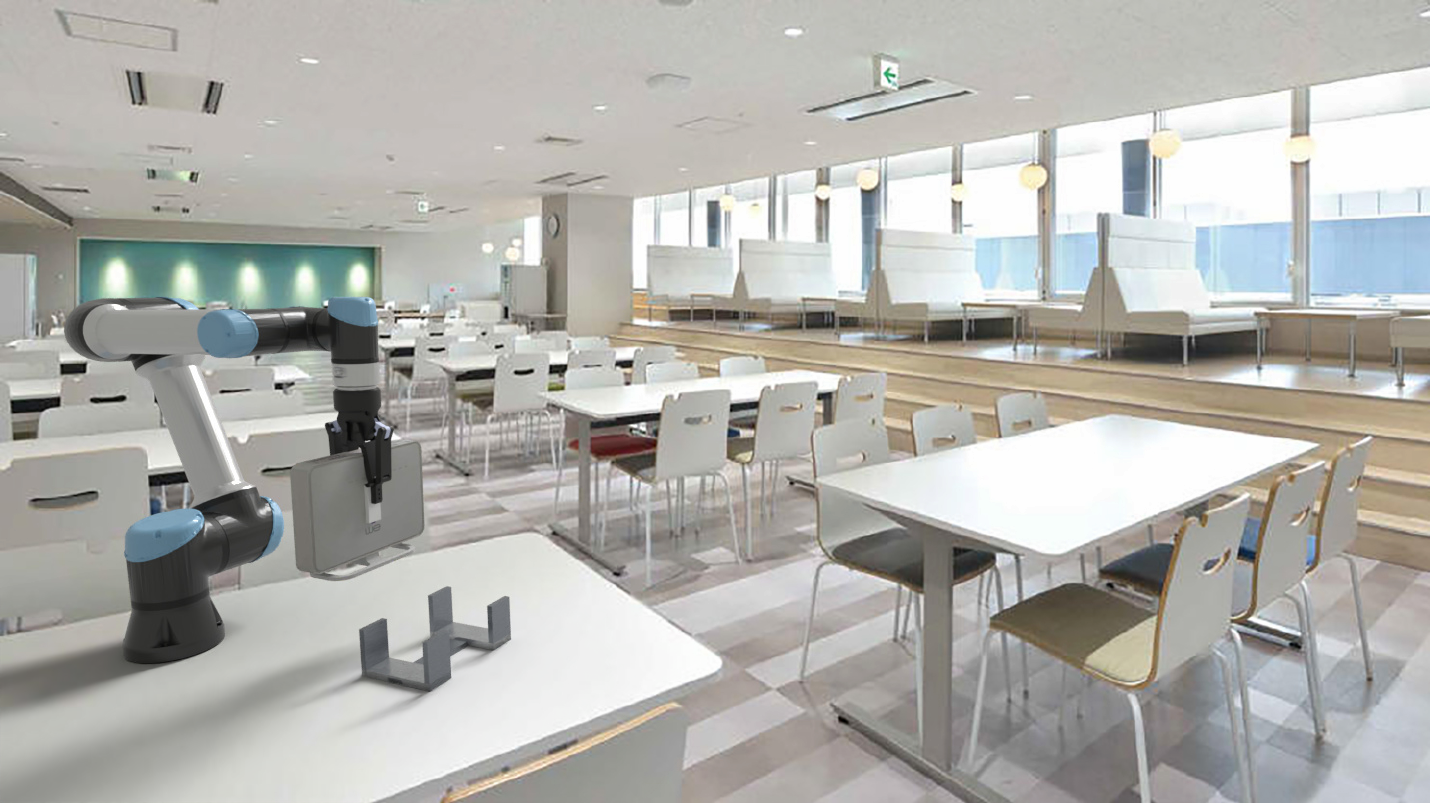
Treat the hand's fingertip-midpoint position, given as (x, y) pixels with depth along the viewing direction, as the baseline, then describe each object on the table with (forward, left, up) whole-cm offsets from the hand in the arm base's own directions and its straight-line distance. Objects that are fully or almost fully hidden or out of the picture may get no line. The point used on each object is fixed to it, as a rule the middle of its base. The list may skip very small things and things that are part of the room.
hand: (363, 519), depth 144 cm
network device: (0, 0, -8) cm, 8 cm away
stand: (+15, 0, -23) cm, 27 cm away
